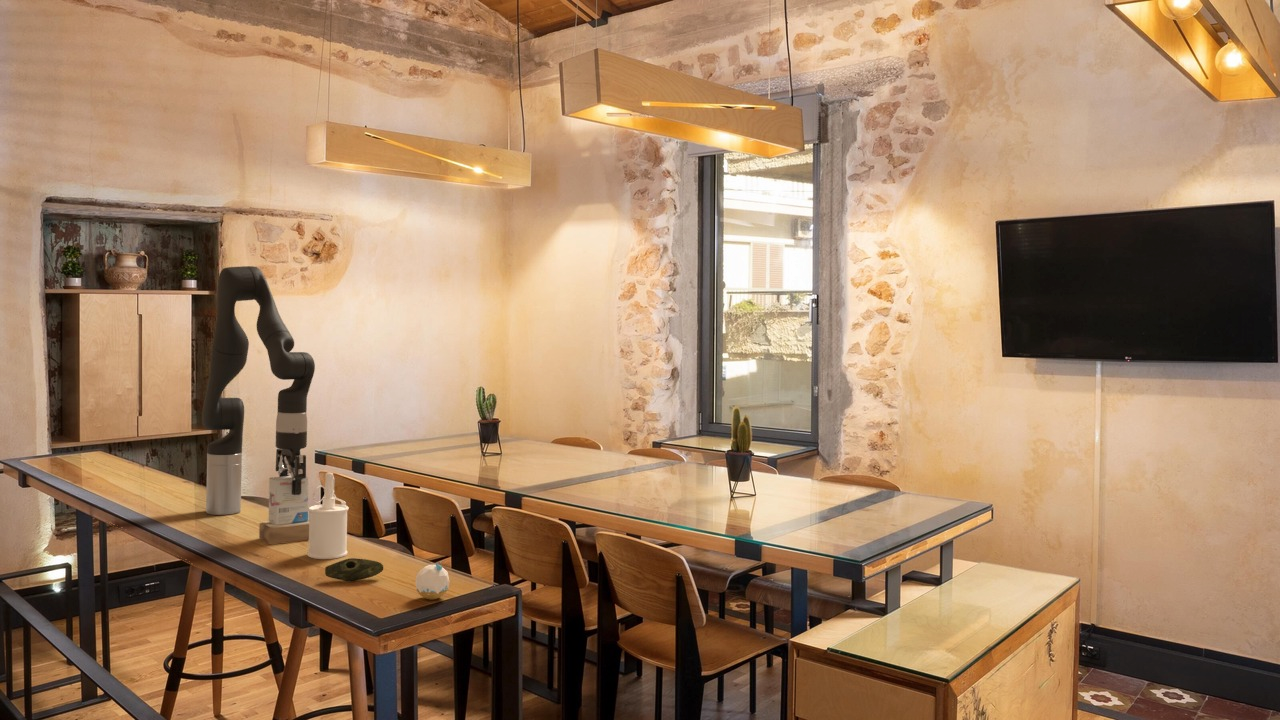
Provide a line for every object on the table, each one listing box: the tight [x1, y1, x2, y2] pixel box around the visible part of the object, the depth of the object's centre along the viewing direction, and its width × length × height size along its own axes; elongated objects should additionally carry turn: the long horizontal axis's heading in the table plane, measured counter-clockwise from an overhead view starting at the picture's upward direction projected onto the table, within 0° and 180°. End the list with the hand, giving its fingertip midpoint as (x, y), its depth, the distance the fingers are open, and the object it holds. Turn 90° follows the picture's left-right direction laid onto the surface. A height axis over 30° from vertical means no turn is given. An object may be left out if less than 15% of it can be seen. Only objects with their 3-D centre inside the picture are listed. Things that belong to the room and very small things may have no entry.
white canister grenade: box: [307, 471, 350, 560], centre depth 227 cm, size 10×9×20 cm
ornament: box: [415, 561, 451, 601], centre depth 193 cm, size 7×7×8 cm
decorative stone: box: [324, 557, 384, 583], centre depth 205 cm, size 11×8×5 cm
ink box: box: [268, 475, 309, 525], centre depth 241 cm, size 9×5×12 cm, turn 133°
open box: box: [258, 518, 309, 545], centre depth 241 cm, size 8×12×4 cm, turn 131°
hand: (289, 491), depth 241 cm, fingers open, 8 cm apart
